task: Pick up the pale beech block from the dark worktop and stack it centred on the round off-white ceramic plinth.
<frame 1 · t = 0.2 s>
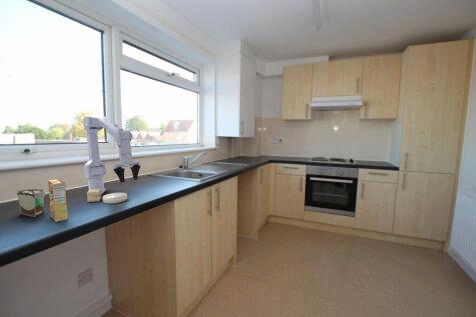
hand: (129, 181, 113), 11 cm above the worktop, tool pointing down, fingers open, 7 cm apart
ceramic plinth: (115, 200, 116), on the worktop
beech block: (94, 200, 116), on the worktop
food container: (36, 213, 97), on the worktop
candy box: (59, 218, 91), on the worktop
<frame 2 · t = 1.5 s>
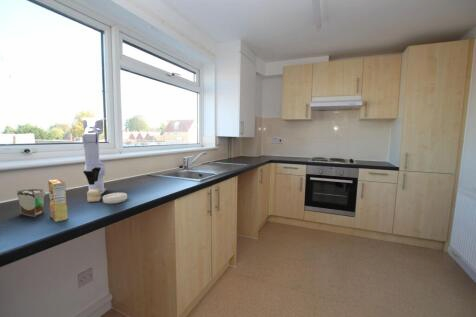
hand: (93, 182, 115), 9 cm above the worktop, tool pointing down, fingers open, 7 cm apart
nothing on the worktop moved.
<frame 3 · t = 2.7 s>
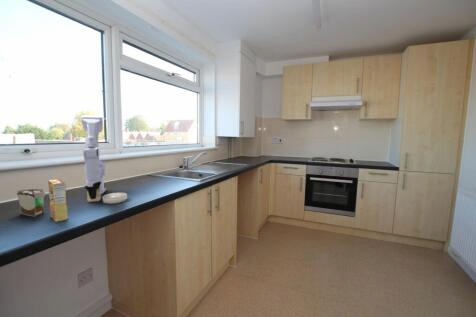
hand: (94, 197, 115), 1 cm above the worktop, tool pointing down, fingers closed on beech block, 5 cm apart
beech block: (94, 200, 116), on the worktop, touching gripper
everything else where it was.
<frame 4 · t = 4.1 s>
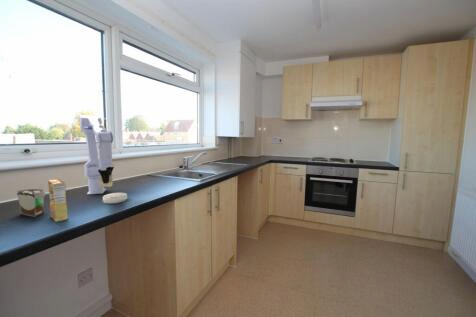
hand: (107, 182, 114), 10 cm above the worktop, tool pointing down, fingers closed on beech block, 5 cm apart
beech block: (106, 185, 115), point 8 cm above the worktop, touching gripper
everything else where it was.
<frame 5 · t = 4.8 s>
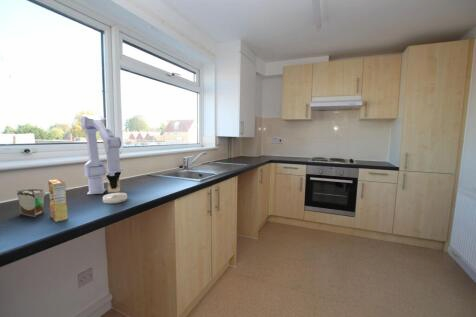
hand: (114, 187, 115), 7 cm above the worktop, tool pointing down, fingers closed on beech block, 5 cm apart
beech block: (114, 190, 115), point 5 cm above the worktop, touching gripper
everything else where it was.
when the fingers open (6 cm above the worktop, at t = 5.5 s): beech block drops 1 cm, resting on ceramic plinth.
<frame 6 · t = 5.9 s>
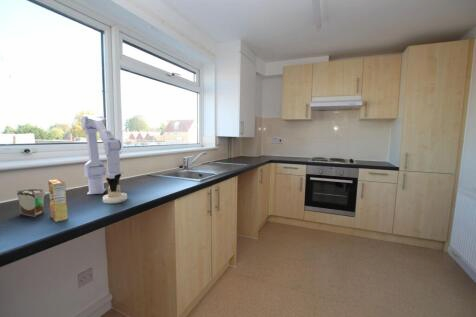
hand: (114, 189, 115), 6 cm above the worktop, tool pointing down, fingers open, 7 cm apart
beech block: (114, 195, 115), point 2 cm above the worktop, touching ceramic plinth
everything else where it was.
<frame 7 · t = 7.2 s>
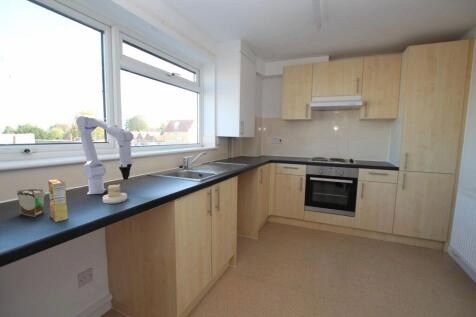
hand: (126, 178, 123), 10 cm above the worktop, tool pointing down, fingers open, 7 cm apart
nothing on the worktop moved.
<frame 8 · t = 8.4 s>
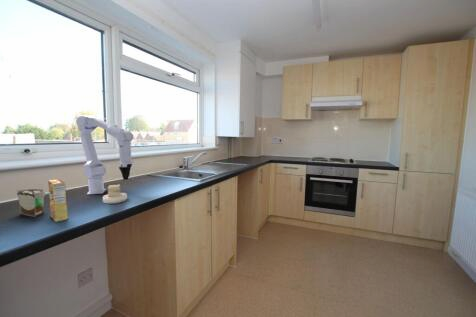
hand: (126, 178, 123), 10 cm above the worktop, tool pointing down, fingers open, 7 cm apart
nothing on the worktop moved.
at the end: beech block inside the target area on the ceramic plinth (0.2 cm from its centre), point 2.5 cm above the ceramic plinth's base; beech block tilted 0°; the gripper is holding nothing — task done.
